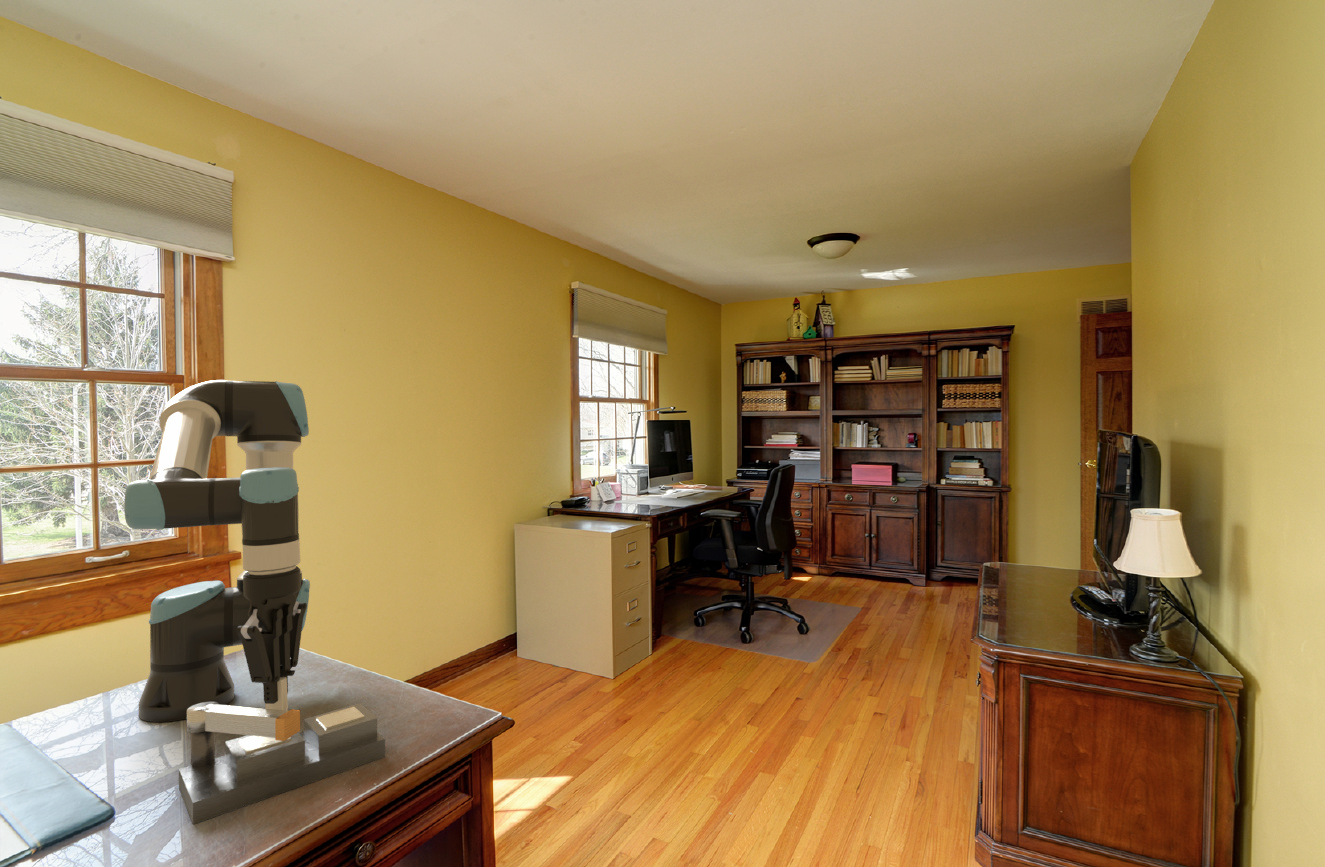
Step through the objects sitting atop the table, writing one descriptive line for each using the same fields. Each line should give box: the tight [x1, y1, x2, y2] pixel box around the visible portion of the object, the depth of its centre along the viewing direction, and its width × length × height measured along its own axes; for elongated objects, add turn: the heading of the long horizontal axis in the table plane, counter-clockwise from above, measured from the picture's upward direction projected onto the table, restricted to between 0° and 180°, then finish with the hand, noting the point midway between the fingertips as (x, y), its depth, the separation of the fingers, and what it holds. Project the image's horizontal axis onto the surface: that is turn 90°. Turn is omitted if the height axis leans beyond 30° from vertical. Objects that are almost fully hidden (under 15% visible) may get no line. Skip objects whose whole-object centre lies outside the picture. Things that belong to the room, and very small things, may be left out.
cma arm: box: [186, 702, 301, 741], centre depth 97 cm, size 18×4×3 cm, turn 80°
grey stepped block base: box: [178, 702, 386, 825], centre depth 102 cm, size 14×26×8 cm, turn 135°
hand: (276, 720), depth 99 cm, fingers closed
